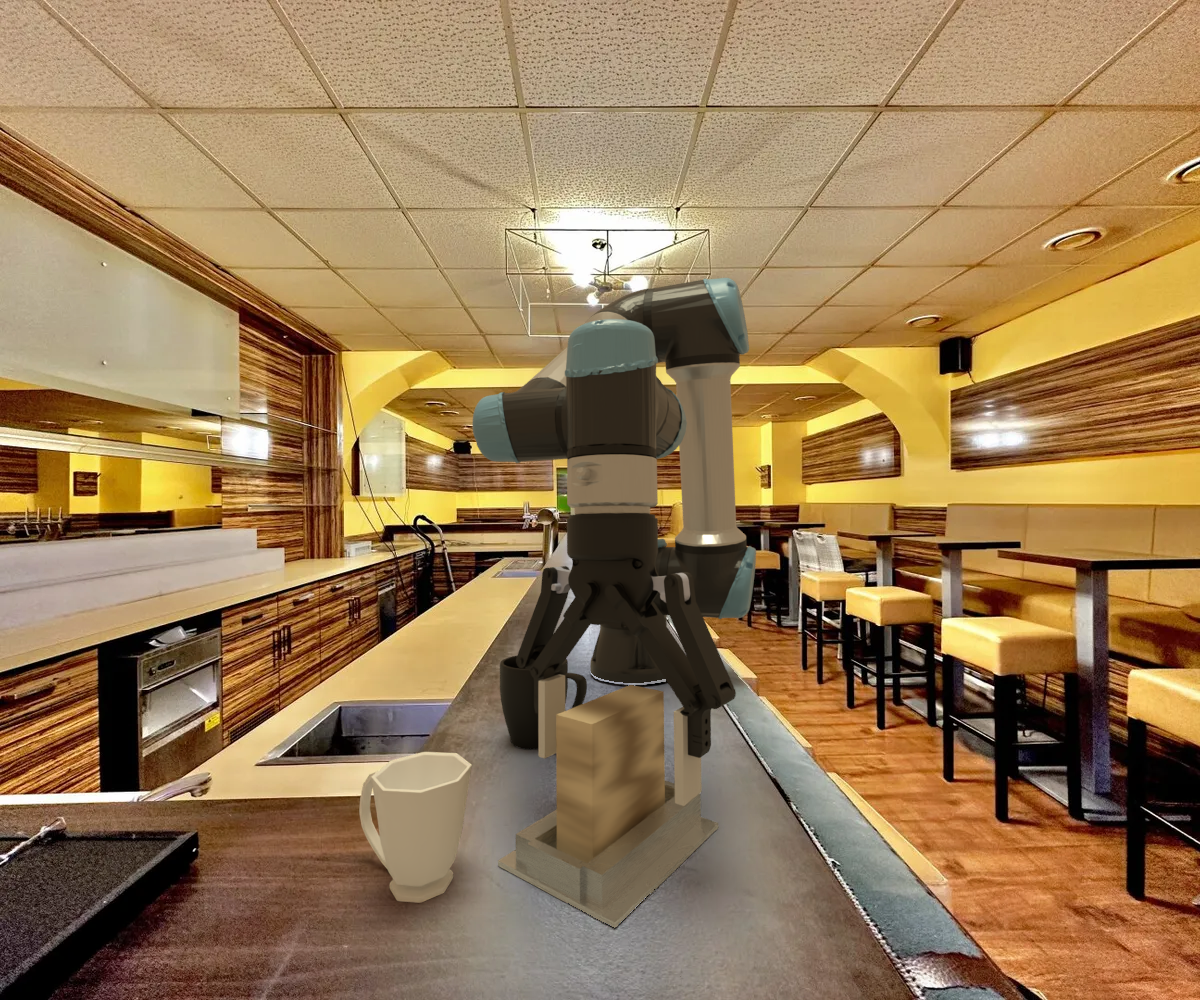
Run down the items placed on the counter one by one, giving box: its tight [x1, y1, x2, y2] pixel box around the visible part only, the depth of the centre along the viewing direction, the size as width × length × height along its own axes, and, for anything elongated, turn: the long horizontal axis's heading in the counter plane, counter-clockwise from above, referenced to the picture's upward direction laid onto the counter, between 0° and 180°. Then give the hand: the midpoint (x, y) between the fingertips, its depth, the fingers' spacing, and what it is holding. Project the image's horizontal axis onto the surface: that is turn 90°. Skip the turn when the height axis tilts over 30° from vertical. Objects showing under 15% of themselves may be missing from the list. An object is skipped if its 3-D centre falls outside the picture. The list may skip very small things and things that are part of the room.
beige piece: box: [497, 780, 719, 929], centre depth 45 cm, size 15×11×3 cm
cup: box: [358, 751, 473, 904], centre depth 41 cm, size 7×10×8 cm
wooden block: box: [555, 685, 666, 863], centre depth 45 cm, size 10×4×11 cm, turn 142°
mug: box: [499, 655, 588, 750], centre depth 66 cm, size 8×12×10 cm
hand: (614, 773), depth 45 cm, fingers open, 13 cm apart
